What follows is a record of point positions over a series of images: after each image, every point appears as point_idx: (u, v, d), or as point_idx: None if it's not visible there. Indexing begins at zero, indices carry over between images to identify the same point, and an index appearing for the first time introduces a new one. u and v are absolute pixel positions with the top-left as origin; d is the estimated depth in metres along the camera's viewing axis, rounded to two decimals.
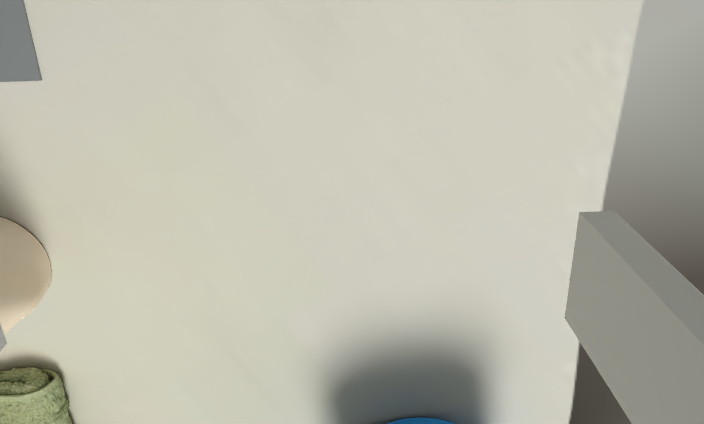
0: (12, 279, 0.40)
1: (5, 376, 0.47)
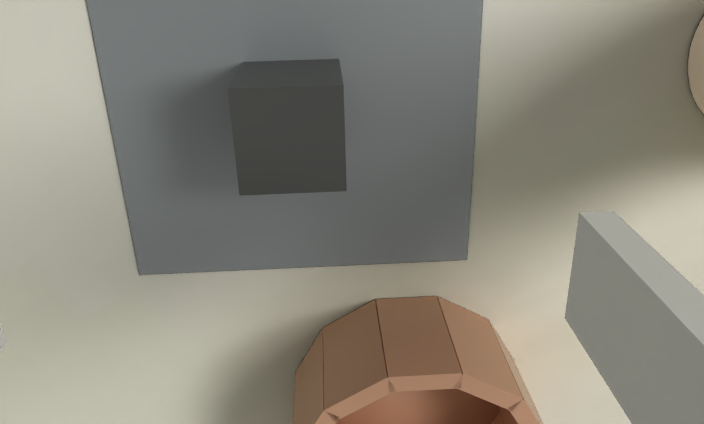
0: None
1: None
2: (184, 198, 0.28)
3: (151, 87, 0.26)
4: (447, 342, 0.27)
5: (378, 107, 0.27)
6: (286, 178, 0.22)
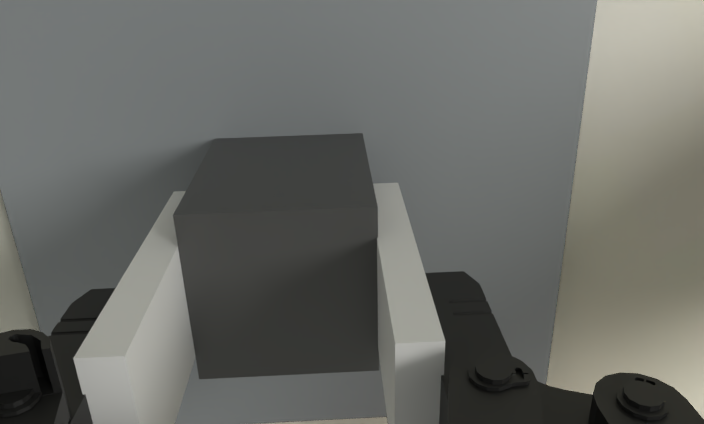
0: None
1: None
2: None
3: (71, 176, 0.17)
4: None
5: (422, 203, 0.17)
6: (277, 353, 0.13)
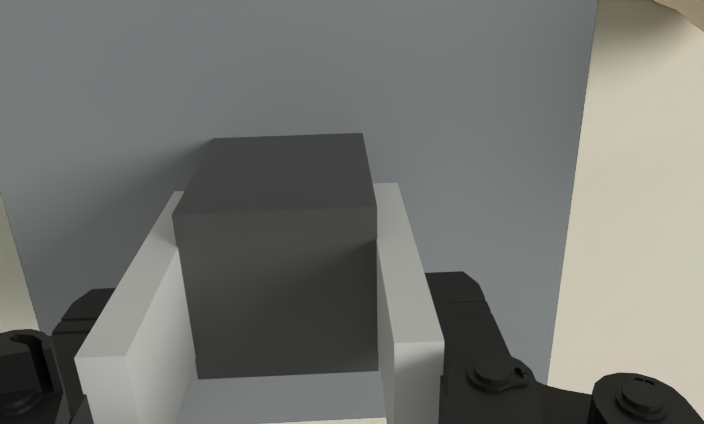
0: None
1: None
2: None
3: (70, 176, 0.17)
4: None
5: (422, 202, 0.17)
6: (277, 353, 0.13)
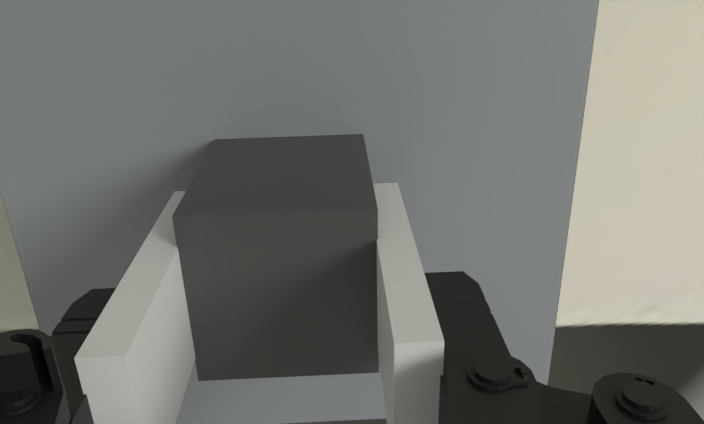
0: None
1: None
2: None
3: (70, 177, 0.17)
4: None
5: (422, 204, 0.17)
6: (277, 355, 0.13)
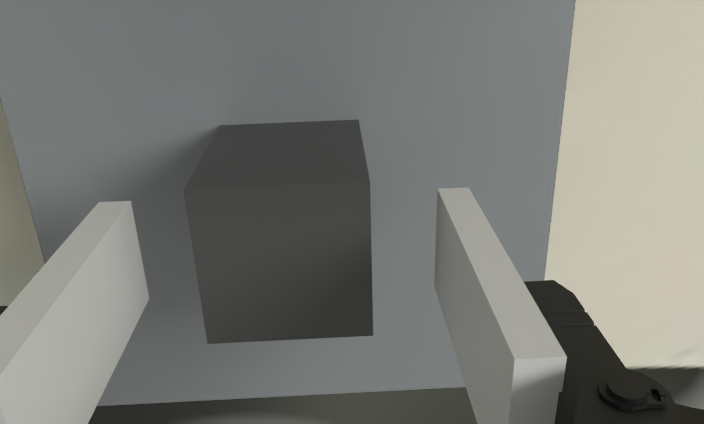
0: None
1: None
2: None
3: (86, 161, 0.18)
4: None
5: (415, 185, 0.19)
6: (279, 319, 0.14)
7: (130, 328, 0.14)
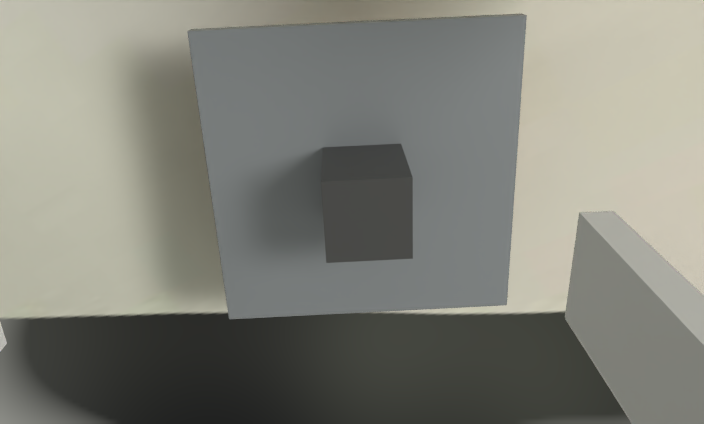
0: None
1: None
2: (269, 256, 0.33)
3: (246, 168, 0.31)
4: None
5: (433, 181, 0.32)
6: (364, 249, 0.28)
7: None
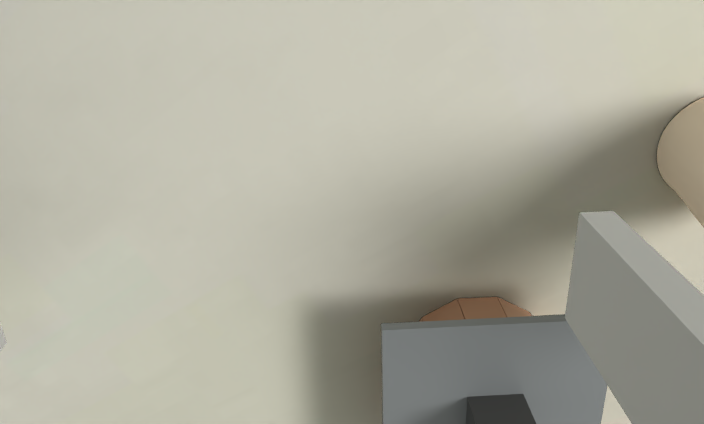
0: None
1: None
2: None
3: (410, 409, 0.43)
4: None
5: (543, 415, 0.44)
6: None
7: None
